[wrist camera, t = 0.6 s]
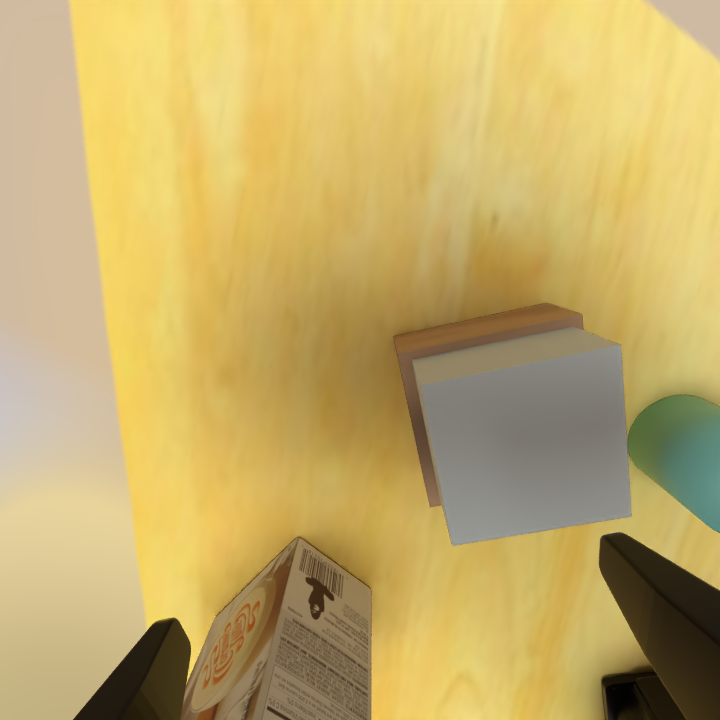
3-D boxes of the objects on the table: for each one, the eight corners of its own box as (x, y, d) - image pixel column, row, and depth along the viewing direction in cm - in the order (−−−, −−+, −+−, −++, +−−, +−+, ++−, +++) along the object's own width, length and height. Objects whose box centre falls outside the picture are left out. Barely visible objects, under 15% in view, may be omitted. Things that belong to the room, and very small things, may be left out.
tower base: (560, 439, 23) (597, 477, 19) (420, 465, 24) (429, 507, 20) (544, 302, 21) (582, 314, 17) (393, 334, 22) (397, 353, 18)
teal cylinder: (721, 468, 23) (813, 526, 18) (629, 484, 23) (696, 546, 19) (721, 386, 22) (821, 426, 17) (624, 405, 22) (694, 449, 17)
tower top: (586, 469, 19) (631, 516, 16) (439, 495, 20) (452, 545, 16) (573, 326, 17) (621, 344, 14) (411, 359, 18) (420, 385, 15)
